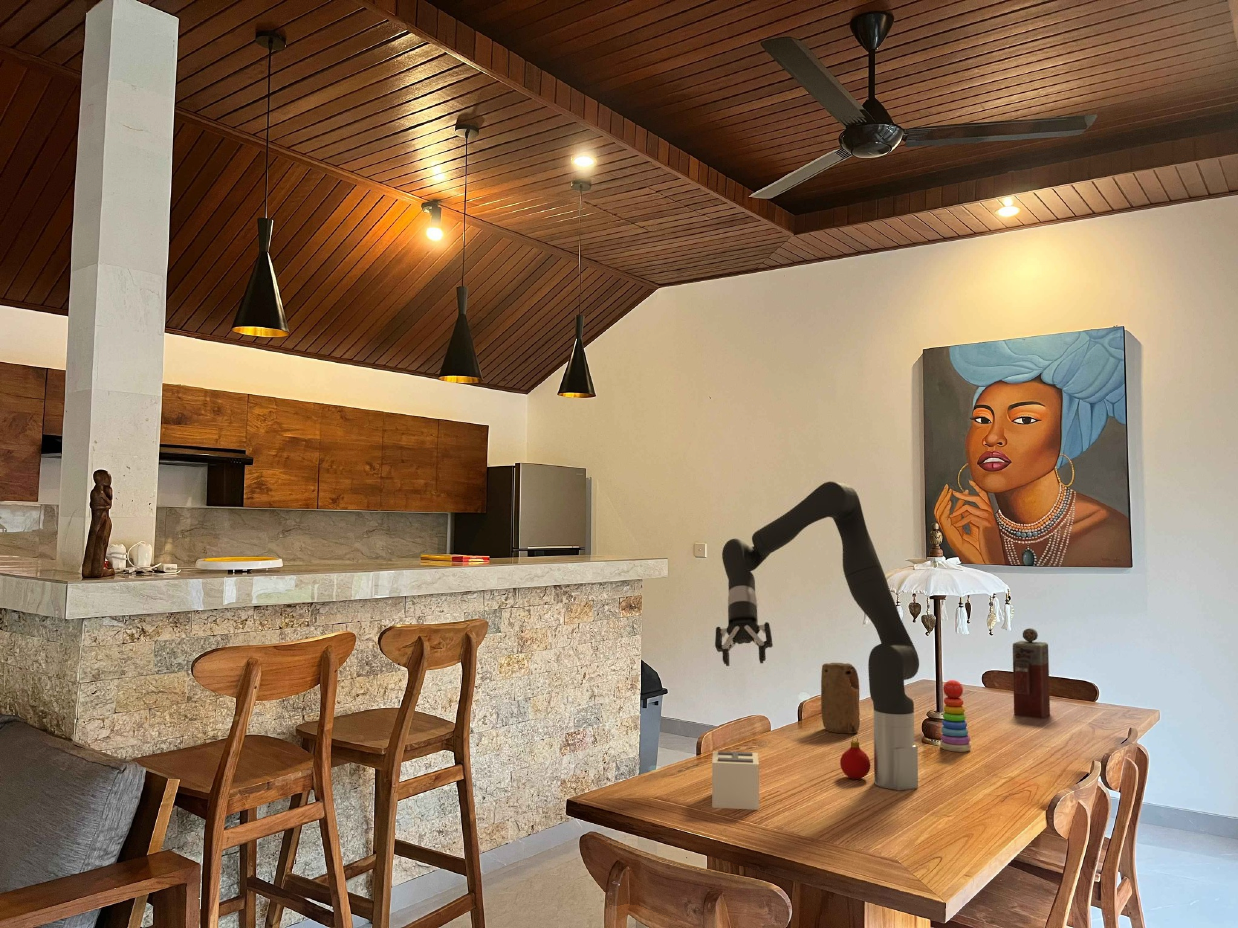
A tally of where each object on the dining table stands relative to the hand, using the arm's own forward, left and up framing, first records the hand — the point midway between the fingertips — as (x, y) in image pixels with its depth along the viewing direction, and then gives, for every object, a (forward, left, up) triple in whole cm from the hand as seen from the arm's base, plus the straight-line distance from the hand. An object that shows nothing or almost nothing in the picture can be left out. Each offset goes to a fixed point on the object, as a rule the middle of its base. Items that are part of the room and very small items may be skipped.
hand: (744, 663), depth 223 cm
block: (+27, -52, -27) cm, 64 cm away
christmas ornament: (-15, -22, -27) cm, 38 cm away
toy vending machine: (+21, -125, -27) cm, 129 cm away
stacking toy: (-3, -67, -27) cm, 72 cm away
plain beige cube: (-19, +15, -17) cm, 29 cm away
